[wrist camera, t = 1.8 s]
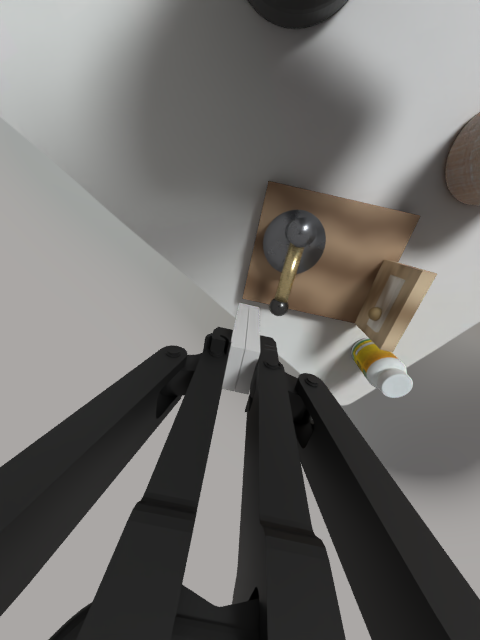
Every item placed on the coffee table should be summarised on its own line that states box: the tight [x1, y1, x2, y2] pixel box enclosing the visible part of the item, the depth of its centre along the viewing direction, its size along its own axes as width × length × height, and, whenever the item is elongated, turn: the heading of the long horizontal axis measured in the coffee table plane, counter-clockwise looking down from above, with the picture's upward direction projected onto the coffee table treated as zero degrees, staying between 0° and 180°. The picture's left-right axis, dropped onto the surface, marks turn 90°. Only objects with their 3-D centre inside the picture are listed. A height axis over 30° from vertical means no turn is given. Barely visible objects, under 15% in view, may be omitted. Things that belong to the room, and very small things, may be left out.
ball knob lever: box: [263, 210, 326, 316], centre depth 30 cm, size 13×8×6 cm, turn 168°
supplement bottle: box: [351, 338, 413, 398], centre depth 35 cm, size 5×5×10 cm
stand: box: [242, 181, 437, 352], centre depth 29 cm, size 16×20×10 cm
